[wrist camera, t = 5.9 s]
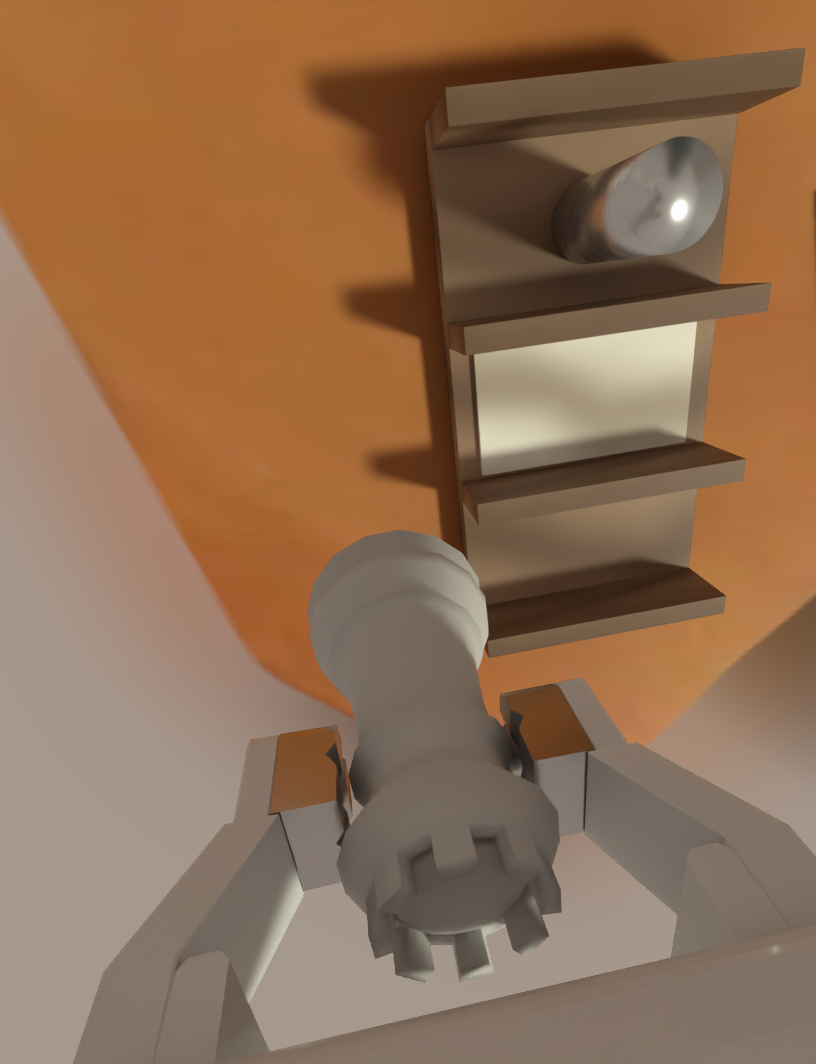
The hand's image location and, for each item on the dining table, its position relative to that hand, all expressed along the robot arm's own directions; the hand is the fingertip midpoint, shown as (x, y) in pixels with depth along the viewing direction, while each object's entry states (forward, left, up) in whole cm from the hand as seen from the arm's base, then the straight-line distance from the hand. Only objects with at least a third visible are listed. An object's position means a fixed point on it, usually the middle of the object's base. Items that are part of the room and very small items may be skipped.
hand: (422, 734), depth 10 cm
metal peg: (-9, +10, -16) cm, 21 cm away
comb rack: (-2, +10, -17) cm, 20 cm away
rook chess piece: (0, 0, -5) cm, 5 cm away
